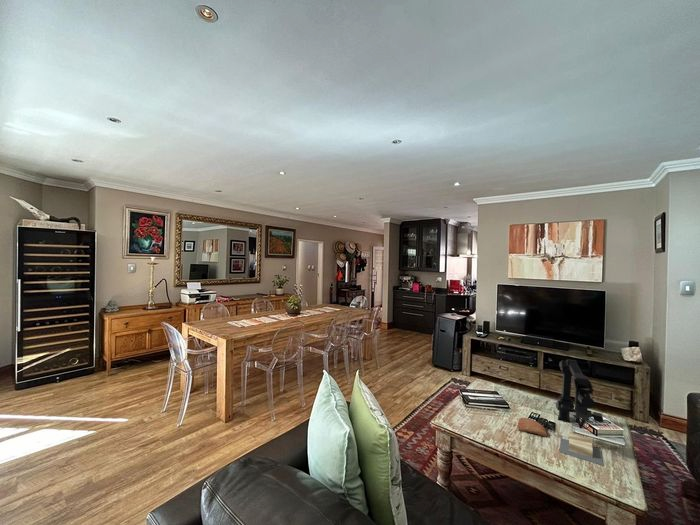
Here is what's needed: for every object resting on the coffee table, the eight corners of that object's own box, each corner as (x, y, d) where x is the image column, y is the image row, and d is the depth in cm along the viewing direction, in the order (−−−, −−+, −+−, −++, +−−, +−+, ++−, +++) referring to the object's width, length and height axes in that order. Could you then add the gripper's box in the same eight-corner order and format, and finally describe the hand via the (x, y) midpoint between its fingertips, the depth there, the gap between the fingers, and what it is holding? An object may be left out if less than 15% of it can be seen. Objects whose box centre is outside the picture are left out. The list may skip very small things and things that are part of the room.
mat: (560, 438, 177) (560, 437, 177) (600, 450, 167) (600, 449, 167) (559, 452, 164) (559, 451, 164) (603, 465, 154) (603, 465, 154)
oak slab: (569, 432, 176) (569, 443, 165) (591, 438, 170) (592, 450, 159) (569, 439, 176) (568, 450, 165) (591, 445, 170) (592, 457, 159)
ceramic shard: (544, 418, 190) (547, 433, 177) (542, 427, 191) (544, 443, 178) (518, 409, 197) (518, 423, 184) (516, 418, 198) (516, 433, 185)
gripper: (560, 400, 170) (559, 428, 170) (604, 410, 159) (603, 440, 159) (561, 393, 179) (560, 420, 179) (602, 403, 168) (601, 431, 168)
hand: (580, 428), depth 171 cm, fingers closed
